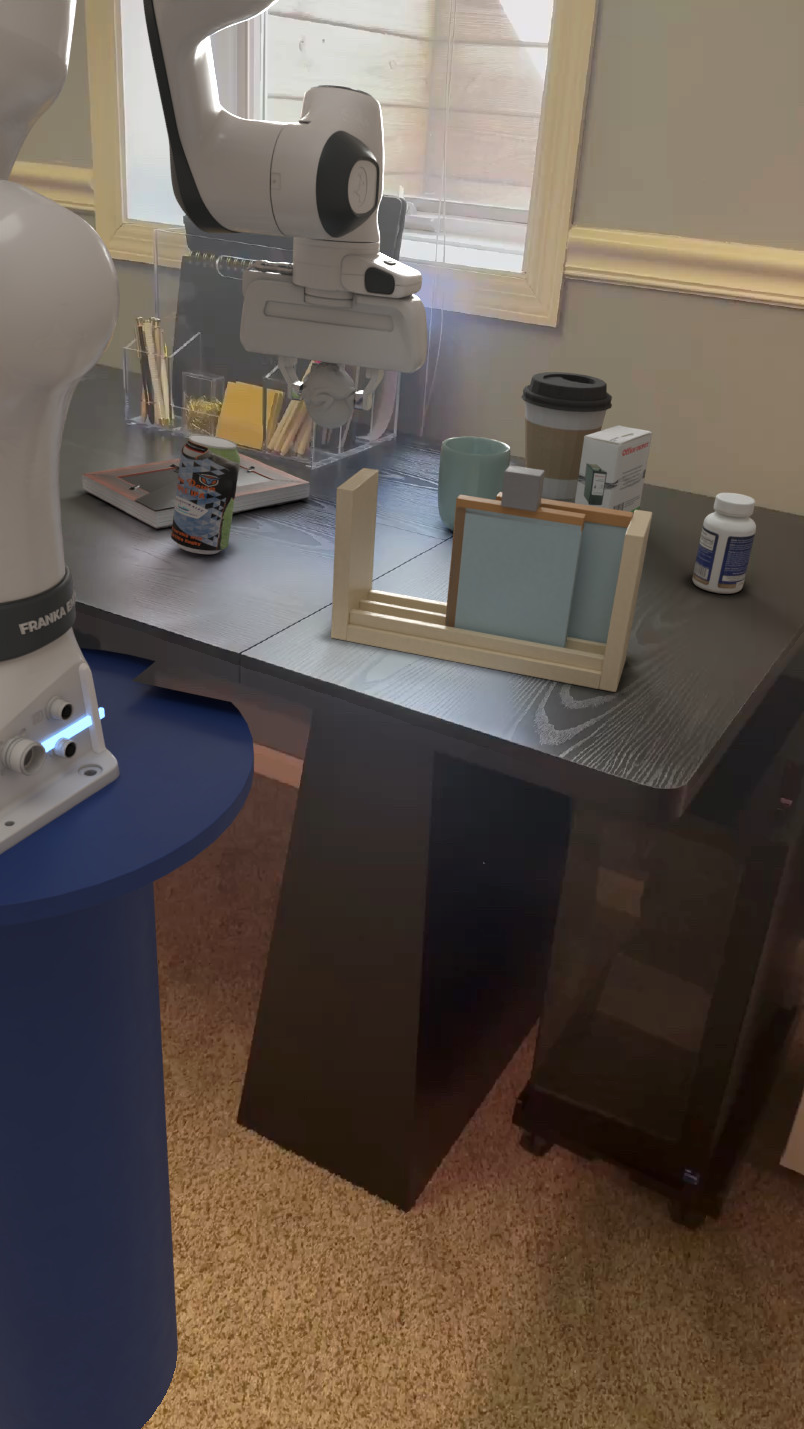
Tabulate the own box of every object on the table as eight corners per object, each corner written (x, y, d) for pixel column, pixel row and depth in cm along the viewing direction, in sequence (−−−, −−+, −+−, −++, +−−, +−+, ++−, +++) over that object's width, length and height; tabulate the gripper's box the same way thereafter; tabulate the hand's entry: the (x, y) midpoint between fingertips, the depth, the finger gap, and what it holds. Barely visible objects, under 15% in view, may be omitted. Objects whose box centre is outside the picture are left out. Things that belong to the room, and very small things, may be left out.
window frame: (615, 692, 93) (644, 534, 86) (330, 638, 99) (336, 485, 92) (625, 660, 99) (653, 509, 92) (356, 610, 105) (363, 465, 98)
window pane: (561, 658, 95) (588, 483, 87) (442, 636, 97) (458, 464, 90) (565, 650, 96) (592, 477, 89) (448, 628, 99) (464, 458, 91)
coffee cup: (613, 500, 143) (632, 383, 136) (566, 517, 135) (584, 394, 128) (541, 479, 149) (556, 366, 142) (492, 494, 141) (505, 376, 134)
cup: (474, 545, 123) (483, 458, 119) (421, 527, 128) (428, 443, 123) (513, 531, 129) (524, 447, 124) (462, 514, 133) (470, 432, 128)
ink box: (602, 517, 136) (618, 422, 130) (638, 527, 133) (655, 430, 128) (568, 532, 130) (582, 433, 124) (604, 543, 127) (621, 442, 122)
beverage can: (161, 546, 117) (156, 434, 111) (219, 535, 121) (218, 427, 115) (191, 564, 113) (188, 449, 107) (251, 552, 117) (251, 441, 111)
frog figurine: (340, 419, 124) (343, 355, 121) (366, 434, 119) (370, 368, 115) (290, 421, 121) (292, 356, 118) (315, 436, 116) (318, 369, 113)
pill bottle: (745, 583, 119) (765, 496, 114) (737, 599, 114) (758, 509, 110) (696, 572, 120) (714, 487, 116) (686, 588, 116) (704, 499, 111)
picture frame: (156, 531, 121) (309, 500, 134) (155, 510, 119) (310, 480, 133) (82, 492, 131) (232, 467, 144) (81, 472, 130) (231, 448, 143)
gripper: (230, 260, 112) (229, 396, 118) (420, 281, 107) (409, 422, 114) (255, 256, 117) (253, 386, 124) (437, 276, 113) (425, 411, 119)
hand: (329, 404), depth 119 cm, fingers closed on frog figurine, 6 cm apart
